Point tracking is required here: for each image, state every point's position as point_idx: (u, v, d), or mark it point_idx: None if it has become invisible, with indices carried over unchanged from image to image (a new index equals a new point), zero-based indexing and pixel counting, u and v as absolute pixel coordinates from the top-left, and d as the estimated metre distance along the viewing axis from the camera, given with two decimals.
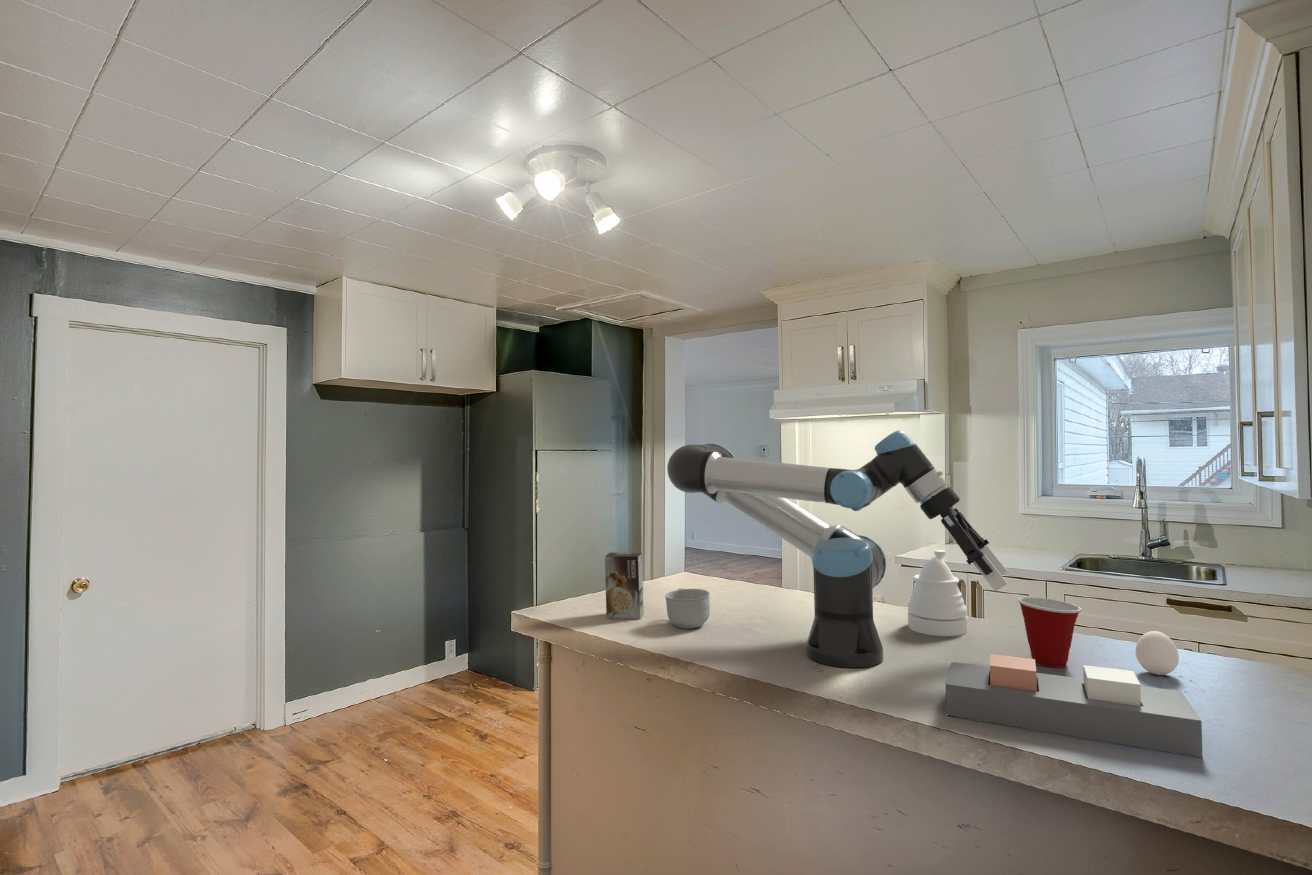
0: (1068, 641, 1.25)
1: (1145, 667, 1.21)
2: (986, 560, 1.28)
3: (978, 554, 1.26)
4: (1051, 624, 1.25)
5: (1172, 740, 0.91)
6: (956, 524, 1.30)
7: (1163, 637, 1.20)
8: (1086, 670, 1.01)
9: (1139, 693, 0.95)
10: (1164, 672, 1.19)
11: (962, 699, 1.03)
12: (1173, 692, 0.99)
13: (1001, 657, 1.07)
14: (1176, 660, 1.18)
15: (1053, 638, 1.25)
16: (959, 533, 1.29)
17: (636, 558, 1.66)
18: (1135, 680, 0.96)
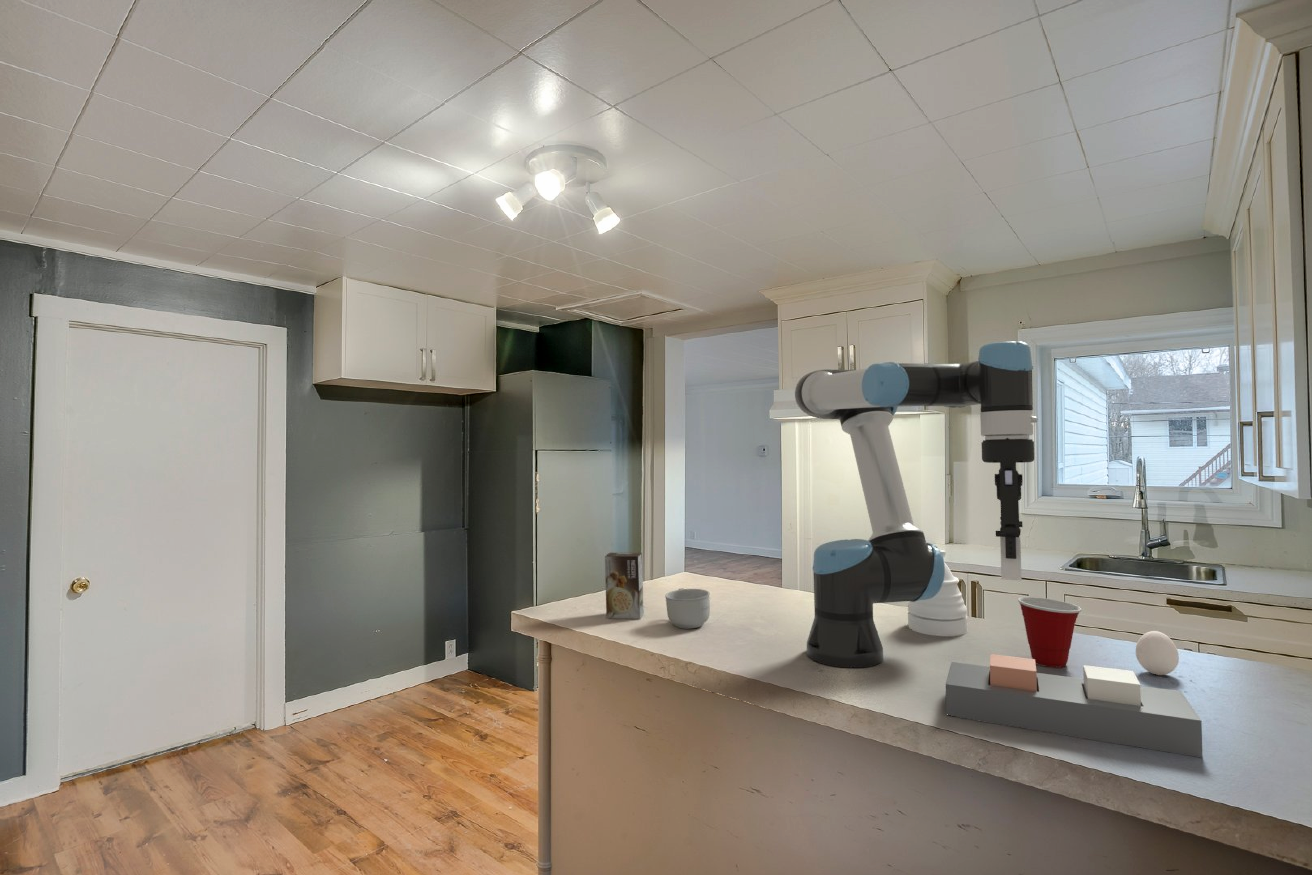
0: (1068, 641, 1.25)
1: (1145, 667, 1.21)
2: (1017, 543, 0.99)
3: (1016, 532, 0.97)
4: (1051, 624, 1.25)
5: (1172, 740, 0.91)
6: (1014, 486, 0.99)
7: (1163, 637, 1.20)
8: (1086, 670, 1.01)
9: (1139, 693, 0.95)
10: (1164, 672, 1.19)
11: (962, 699, 1.03)
12: (1173, 692, 0.99)
13: (1001, 657, 1.07)
14: (1176, 660, 1.18)
15: (1053, 638, 1.25)
16: (1010, 497, 0.99)
17: (636, 558, 1.66)
18: (1135, 680, 0.96)
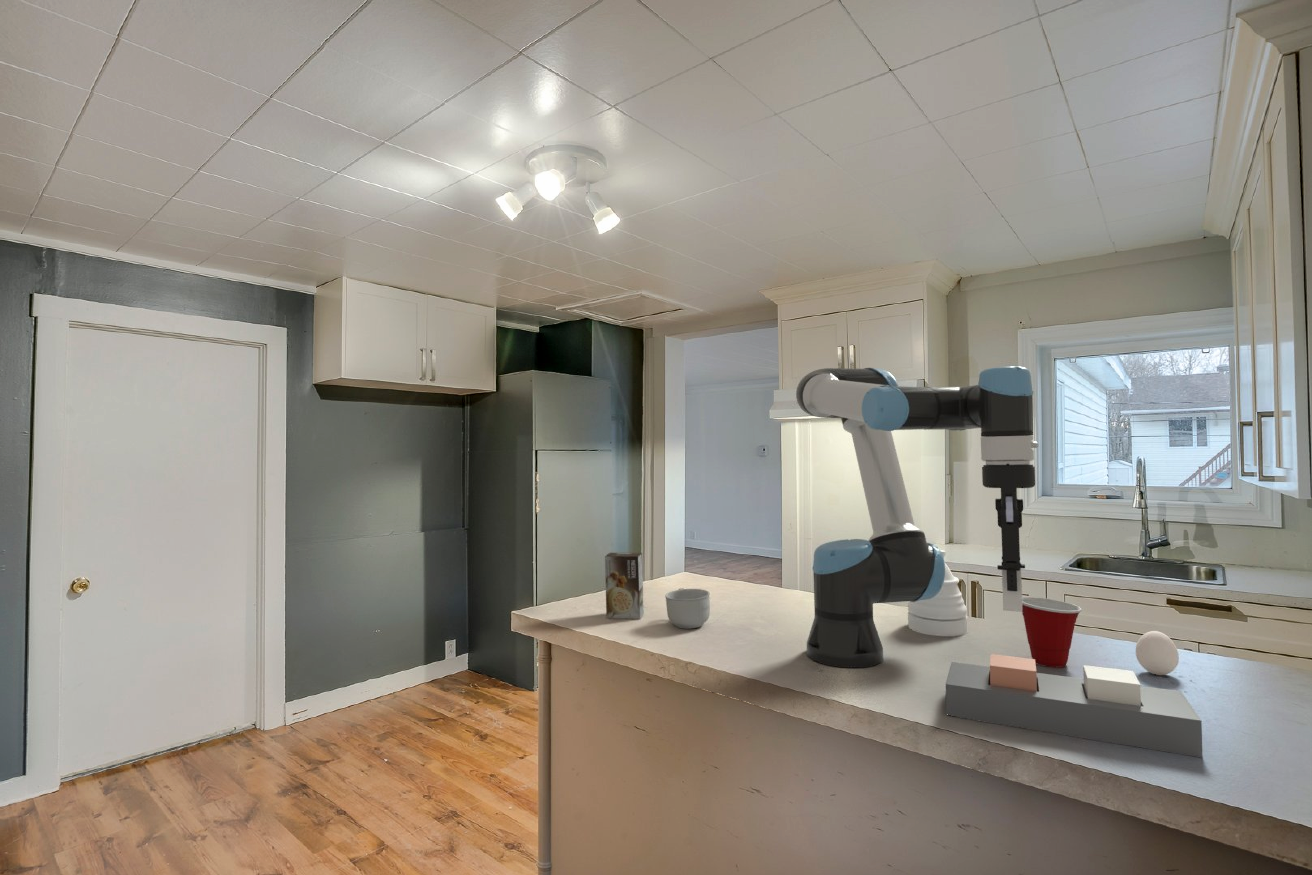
0: (1068, 641, 1.25)
1: (1145, 667, 1.21)
2: (1018, 576, 1.04)
3: (1017, 566, 1.02)
4: (1051, 624, 1.25)
5: (1172, 740, 0.91)
6: (1015, 524, 1.00)
7: (1163, 637, 1.20)
8: (1086, 670, 1.01)
9: (1139, 693, 0.95)
10: (1164, 672, 1.19)
11: (962, 699, 1.03)
12: (1173, 692, 0.99)
13: (1001, 657, 1.07)
14: (1176, 660, 1.18)
15: (1053, 638, 1.25)
16: (1011, 535, 1.01)
17: (636, 558, 1.66)
18: (1135, 680, 0.96)
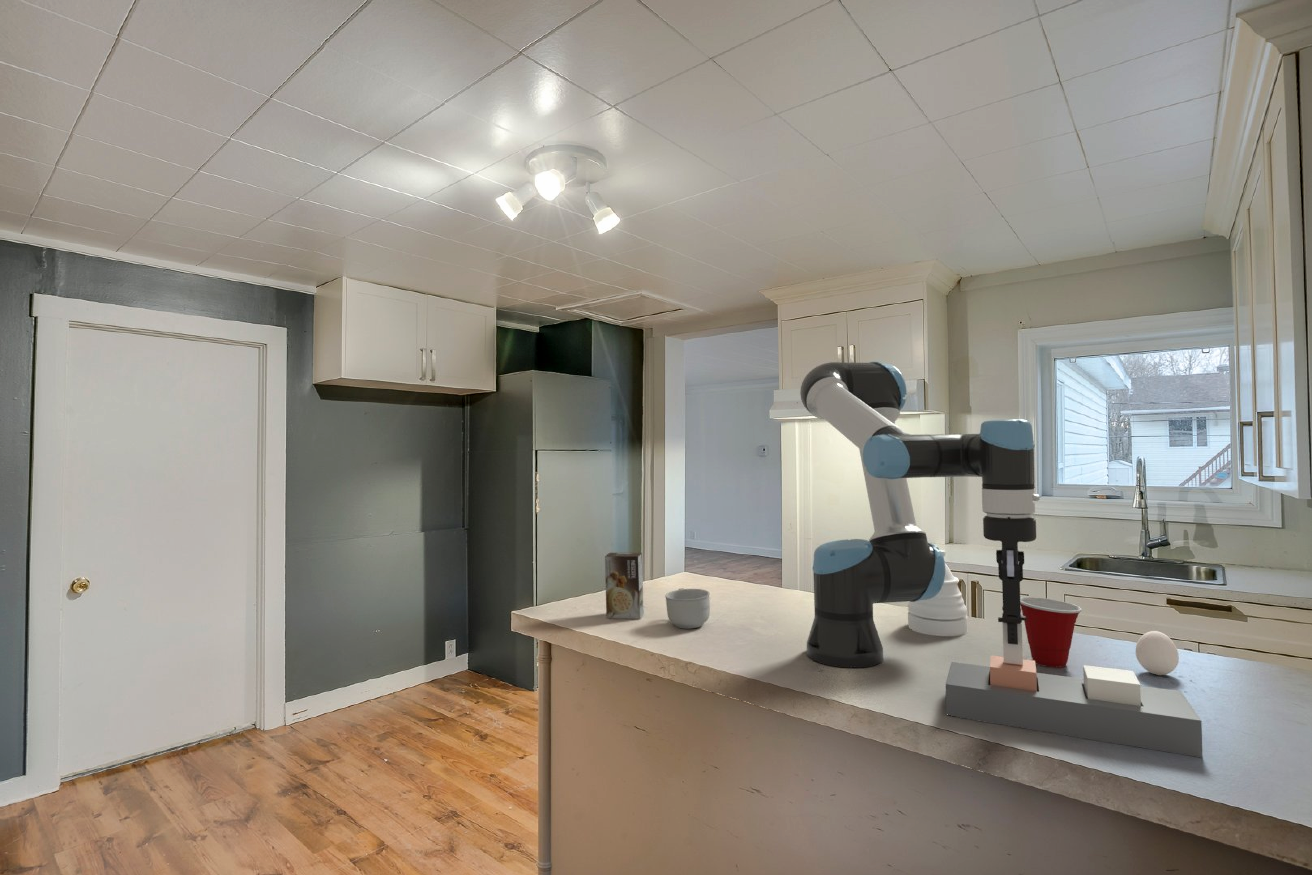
0: (1068, 641, 1.25)
1: (1145, 667, 1.21)
2: (1019, 629, 1.04)
3: (1018, 621, 1.02)
4: (1051, 624, 1.25)
5: (1172, 740, 0.91)
6: (1016, 579, 1.00)
7: (1163, 637, 1.20)
8: (1086, 670, 1.01)
9: (1139, 693, 0.95)
10: (1164, 672, 1.19)
11: (962, 699, 1.03)
12: (1173, 692, 0.99)
13: (1001, 659, 1.07)
14: (1176, 660, 1.18)
15: (1054, 638, 1.25)
16: (1012, 590, 1.01)
17: (636, 558, 1.66)
18: (1135, 680, 0.96)
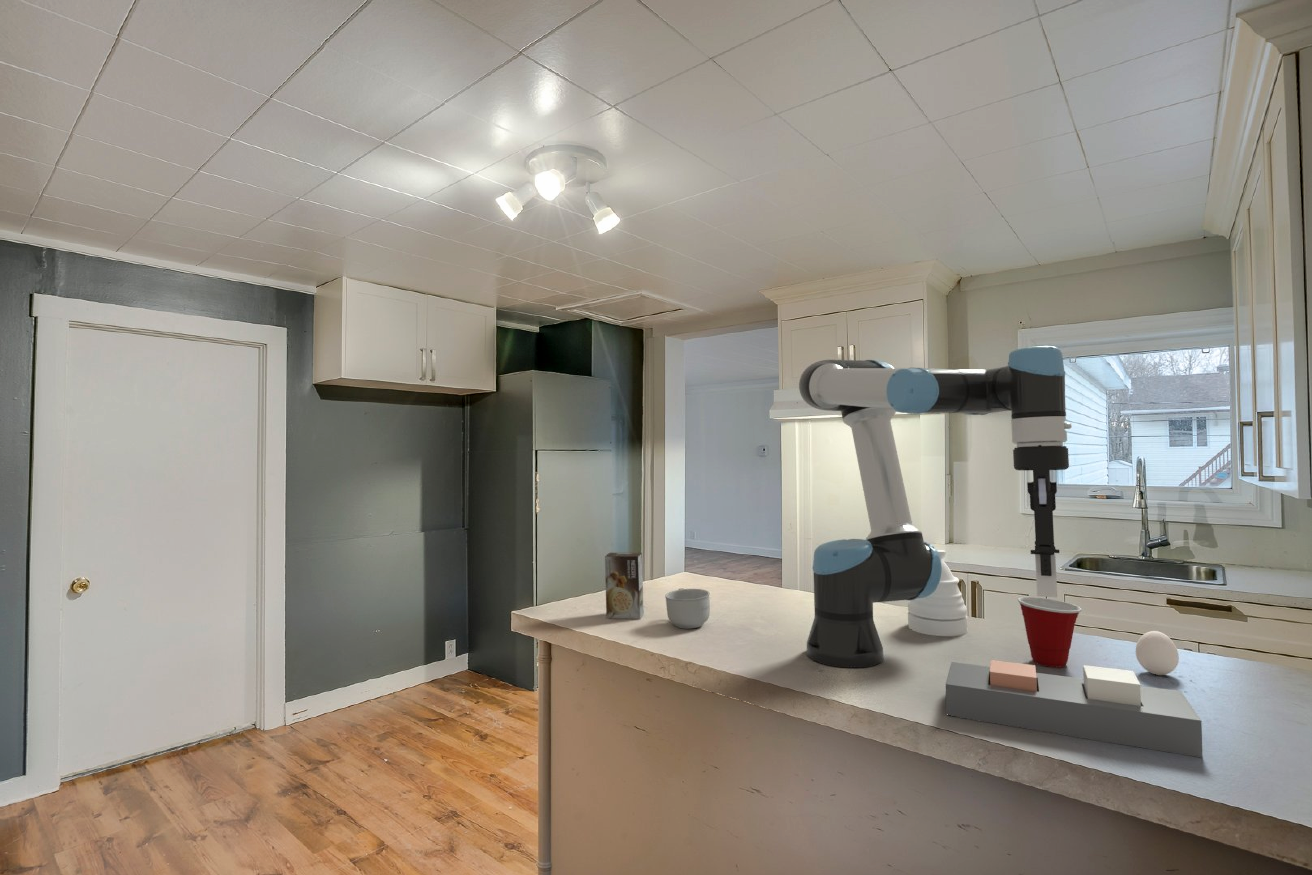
0: (1068, 641, 1.25)
1: (1145, 667, 1.21)
2: (1052, 561, 1.01)
3: (1051, 550, 0.99)
4: (1051, 624, 1.25)
5: (1172, 740, 0.91)
6: (1049, 506, 0.98)
7: (1163, 637, 1.20)
8: (1086, 670, 1.01)
9: (1139, 693, 0.95)
10: (1164, 672, 1.19)
11: (962, 699, 1.03)
12: (1173, 692, 0.99)
13: (1001, 664, 1.07)
14: (1176, 660, 1.18)
15: (1053, 638, 1.25)
16: (1045, 518, 0.99)
17: (636, 558, 1.66)
18: (1135, 680, 0.96)
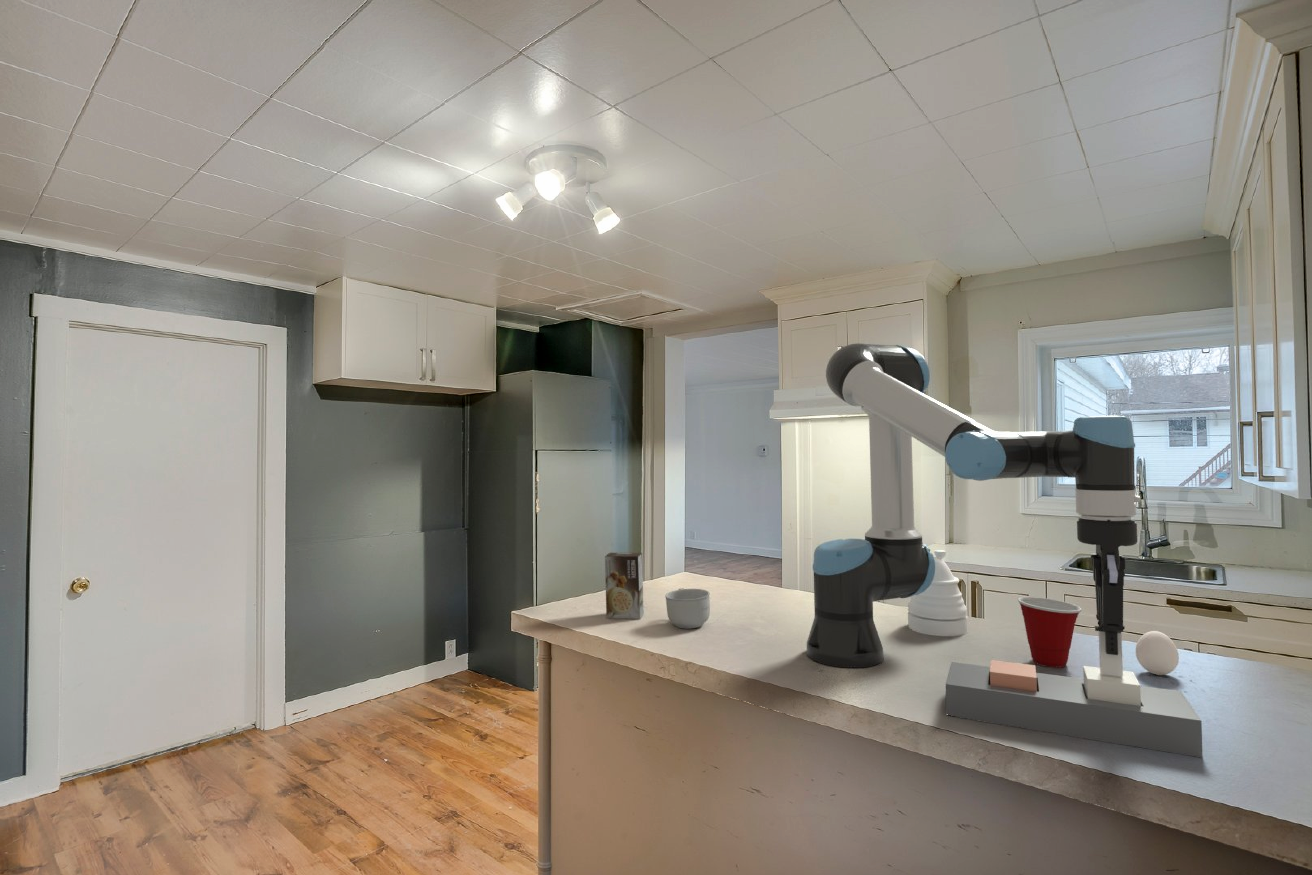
0: (1068, 641, 1.25)
1: (1145, 667, 1.21)
2: (1118, 638, 0.98)
3: (1119, 630, 0.95)
4: (1051, 624, 1.25)
5: (1172, 740, 0.91)
6: (1119, 586, 0.94)
7: (1163, 637, 1.20)
8: (1086, 671, 1.01)
9: (1139, 694, 0.95)
10: (1164, 672, 1.19)
11: (962, 699, 1.03)
12: (1173, 692, 0.99)
13: (1001, 664, 1.07)
14: (1176, 660, 1.18)
15: (1053, 638, 1.25)
16: (1114, 597, 0.95)
17: (636, 558, 1.66)
18: (1135, 681, 0.96)
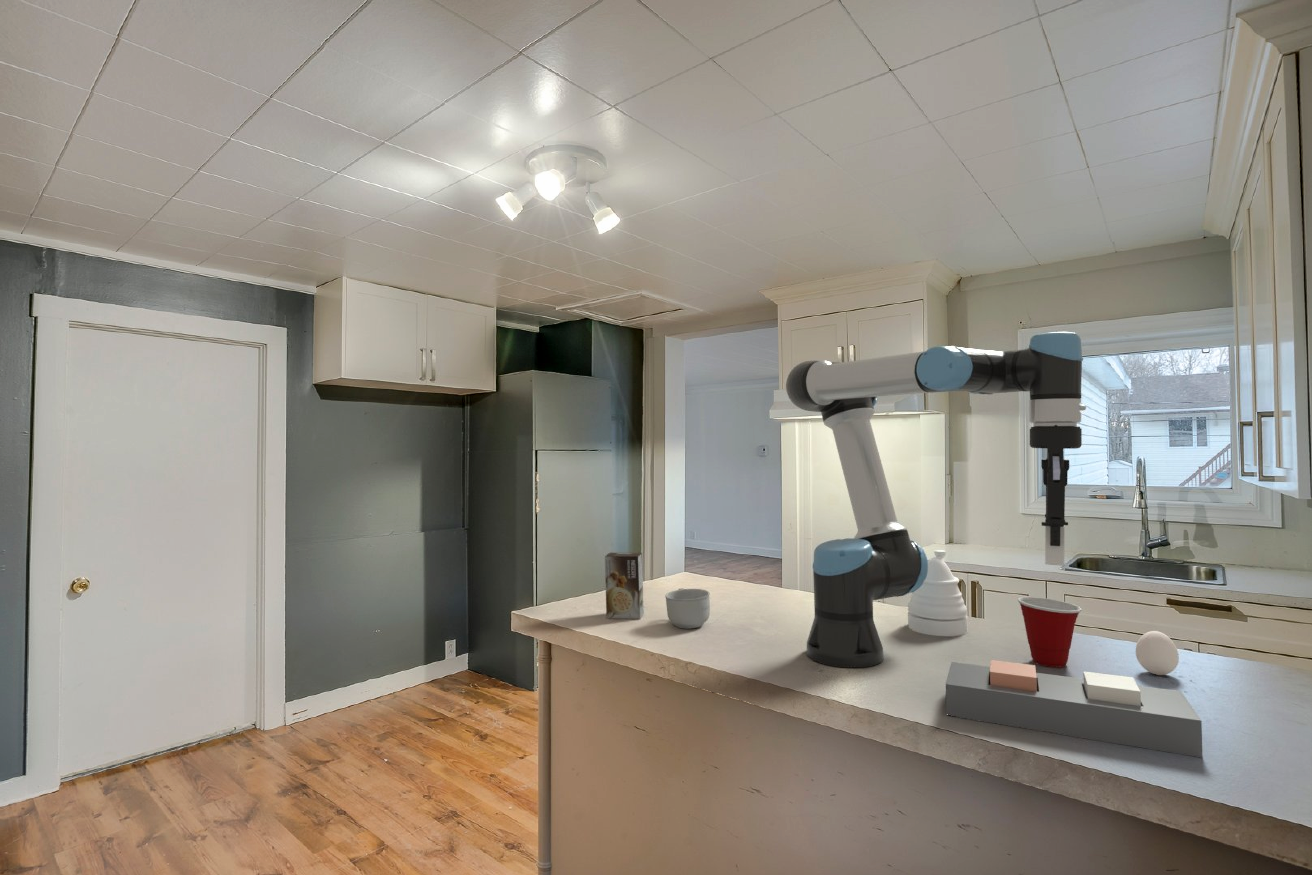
0: (1068, 641, 1.25)
1: (1145, 667, 1.21)
2: (1061, 532, 1.10)
3: (1061, 522, 1.07)
4: (1051, 624, 1.25)
5: (1172, 740, 0.91)
6: (1061, 482, 1.06)
7: (1163, 637, 1.20)
8: (1086, 676, 1.01)
9: (1139, 700, 0.95)
10: (1164, 672, 1.19)
11: (962, 699, 1.03)
12: (1173, 692, 0.99)
13: (1001, 664, 1.07)
14: (1176, 660, 1.18)
15: (1053, 638, 1.25)
16: (1057, 493, 1.06)
17: (636, 558, 1.66)
18: (1135, 687, 0.96)
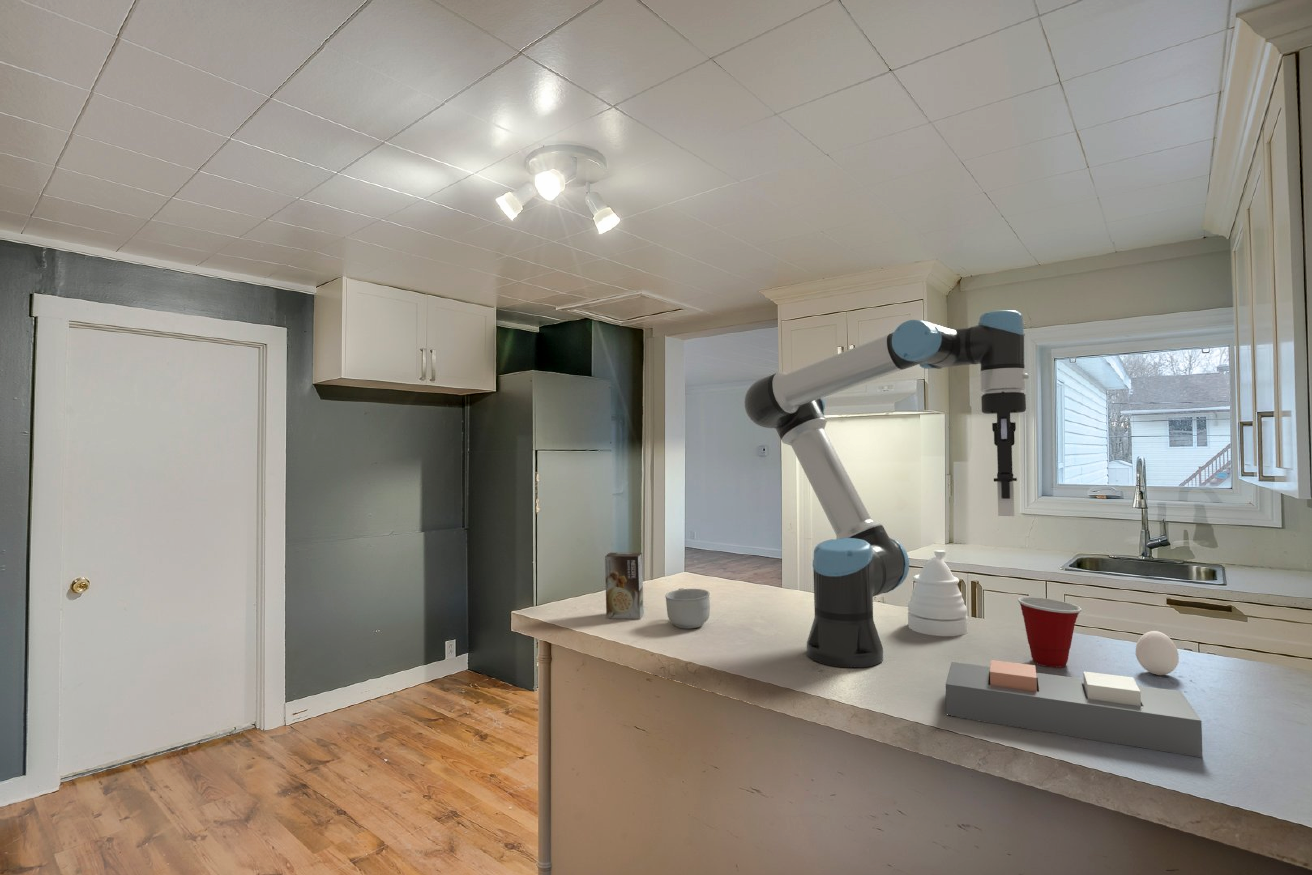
0: (1068, 641, 1.25)
1: (1145, 667, 1.21)
2: (1011, 486, 1.24)
3: (1010, 477, 1.22)
4: (1051, 624, 1.25)
5: (1172, 740, 0.91)
6: (1008, 441, 1.20)
7: (1163, 637, 1.20)
8: (1086, 676, 1.01)
9: (1139, 700, 0.95)
10: (1164, 672, 1.19)
11: (962, 699, 1.03)
12: (1173, 692, 0.99)
13: (1001, 664, 1.07)
14: (1176, 660, 1.18)
15: (1053, 638, 1.25)
16: (1005, 450, 1.21)
17: (636, 558, 1.66)
18: (1135, 687, 0.96)
